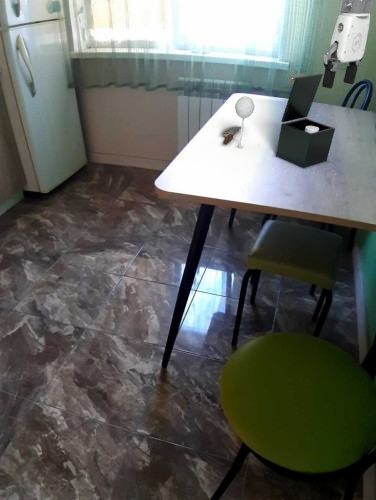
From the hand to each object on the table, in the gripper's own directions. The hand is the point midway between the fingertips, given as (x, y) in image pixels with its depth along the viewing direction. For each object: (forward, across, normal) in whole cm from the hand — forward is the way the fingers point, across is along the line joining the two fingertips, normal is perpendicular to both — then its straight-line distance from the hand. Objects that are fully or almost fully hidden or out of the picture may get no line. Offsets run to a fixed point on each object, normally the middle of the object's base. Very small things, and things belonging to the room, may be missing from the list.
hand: (337, 85), depth 115 cm
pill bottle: (+20, -3, +3) cm, 21 cm away
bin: (+21, -3, +5) cm, 22 cm away
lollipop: (+21, -13, +23) cm, 34 cm away
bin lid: (+5, -3, +9) cm, 11 cm away
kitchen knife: (+20, -8, +34) cm, 41 cm away
